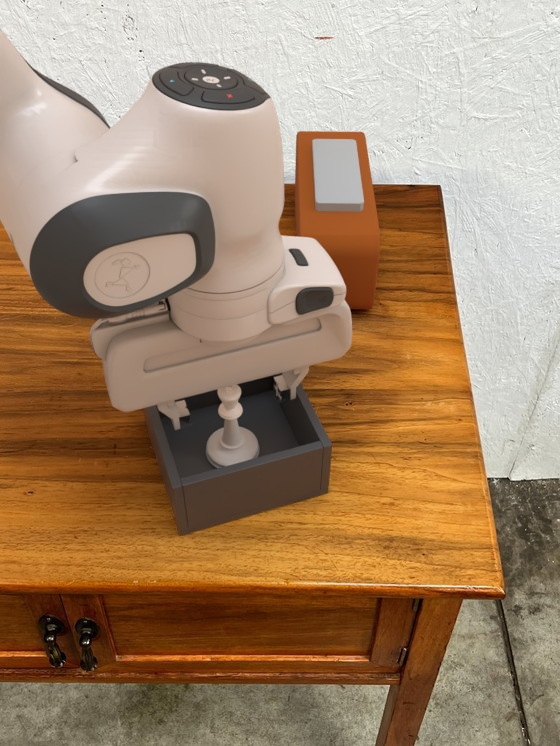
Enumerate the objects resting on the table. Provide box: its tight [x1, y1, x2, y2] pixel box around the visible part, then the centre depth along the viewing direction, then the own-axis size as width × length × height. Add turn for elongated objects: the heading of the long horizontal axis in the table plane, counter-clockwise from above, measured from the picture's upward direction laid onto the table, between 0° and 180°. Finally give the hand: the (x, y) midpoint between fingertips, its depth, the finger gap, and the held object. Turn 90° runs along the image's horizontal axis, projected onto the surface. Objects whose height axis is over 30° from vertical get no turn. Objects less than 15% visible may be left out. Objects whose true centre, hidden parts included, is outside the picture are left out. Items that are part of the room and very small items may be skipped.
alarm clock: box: [294, 130, 381, 310], centre depth 90 cm, size 24×8×11 cm, turn 0°
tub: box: [142, 373, 333, 537], centre depth 70 cm, size 14×14×7 cm
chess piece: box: [206, 385, 259, 468], centre depth 68 cm, size 5×5×10 cm
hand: (233, 409), depth 67 cm, fingers open, 8 cm apart
